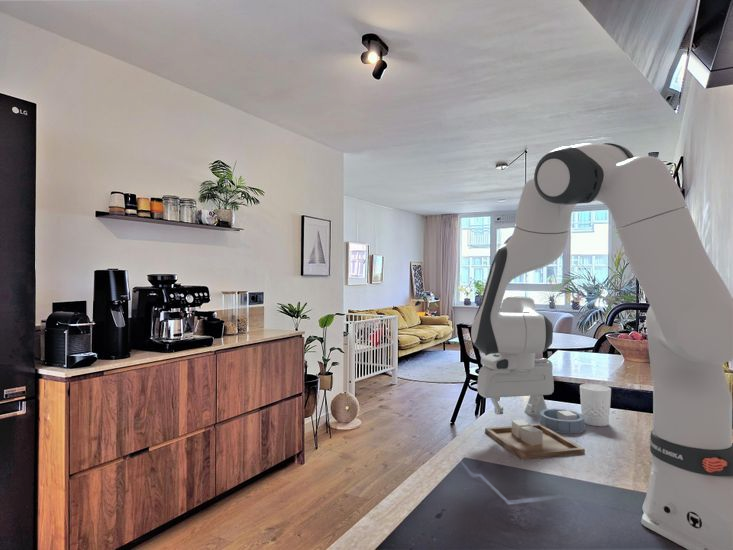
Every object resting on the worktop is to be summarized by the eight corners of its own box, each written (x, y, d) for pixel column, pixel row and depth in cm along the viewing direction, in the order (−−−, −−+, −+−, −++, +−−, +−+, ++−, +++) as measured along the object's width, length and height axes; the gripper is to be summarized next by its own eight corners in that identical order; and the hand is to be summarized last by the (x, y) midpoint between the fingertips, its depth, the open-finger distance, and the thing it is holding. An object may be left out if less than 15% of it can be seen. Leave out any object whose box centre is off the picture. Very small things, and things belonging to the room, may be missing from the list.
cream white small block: (542, 444, 112) (542, 430, 112) (531, 445, 111) (531, 432, 111) (531, 438, 116) (531, 425, 116) (521, 440, 115) (521, 427, 115)
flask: (552, 419, 133) (551, 384, 133) (525, 417, 134) (525, 383, 134) (547, 411, 140) (547, 379, 140) (522, 410, 141) (522, 378, 141)
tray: (584, 455, 106) (584, 449, 106) (521, 462, 103) (521, 454, 103) (540, 429, 124) (540, 423, 124) (485, 434, 121) (485, 428, 121)
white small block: (577, 426, 124) (576, 414, 124) (566, 427, 123) (566, 415, 123) (567, 421, 128) (567, 410, 128) (557, 422, 127) (557, 411, 127)
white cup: (576, 417, 134) (576, 383, 134) (606, 419, 133) (606, 384, 133) (583, 426, 127) (583, 390, 127) (614, 428, 125) (614, 391, 125)
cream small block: (530, 437, 117) (530, 424, 117) (518, 438, 116) (518, 425, 116) (523, 432, 121) (523, 419, 121) (511, 432, 120) (511, 420, 120)
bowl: (593, 433, 121) (593, 419, 121) (555, 436, 119) (555, 422, 119) (566, 420, 132) (566, 407, 132) (532, 422, 130) (532, 410, 130)
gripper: (544, 355, 124) (543, 406, 124) (475, 358, 119) (473, 411, 119) (559, 360, 117) (558, 414, 118) (486, 363, 113) (485, 419, 113)
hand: (515, 412), depth 118 cm, fingers open, 8 cm apart
